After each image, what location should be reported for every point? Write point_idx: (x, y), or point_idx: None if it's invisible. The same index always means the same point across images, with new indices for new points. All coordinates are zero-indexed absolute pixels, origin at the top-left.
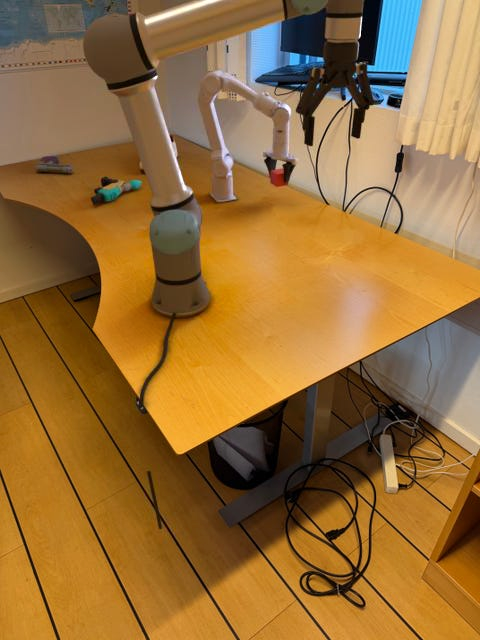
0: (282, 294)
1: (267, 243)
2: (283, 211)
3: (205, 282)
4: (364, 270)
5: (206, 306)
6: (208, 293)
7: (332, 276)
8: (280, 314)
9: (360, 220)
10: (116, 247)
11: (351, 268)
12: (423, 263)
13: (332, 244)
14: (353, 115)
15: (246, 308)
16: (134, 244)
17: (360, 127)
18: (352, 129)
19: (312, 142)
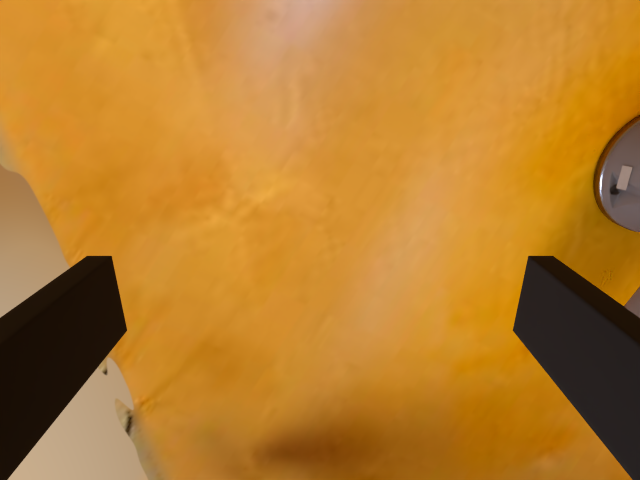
0: (453, 96)
1: (356, 310)
2: (245, 418)
3: (627, 172)
4: (215, 103)
5: (635, 120)
6: (627, 144)
7: (303, 114)
8: (509, 18)
9: None
10: None
11: (240, 126)
12: (51, 62)
13: (221, 245)
14: (22, 459)
15: (558, 80)
16: None
17: (39, 298)
18: (98, 355)
19: (550, 266)
